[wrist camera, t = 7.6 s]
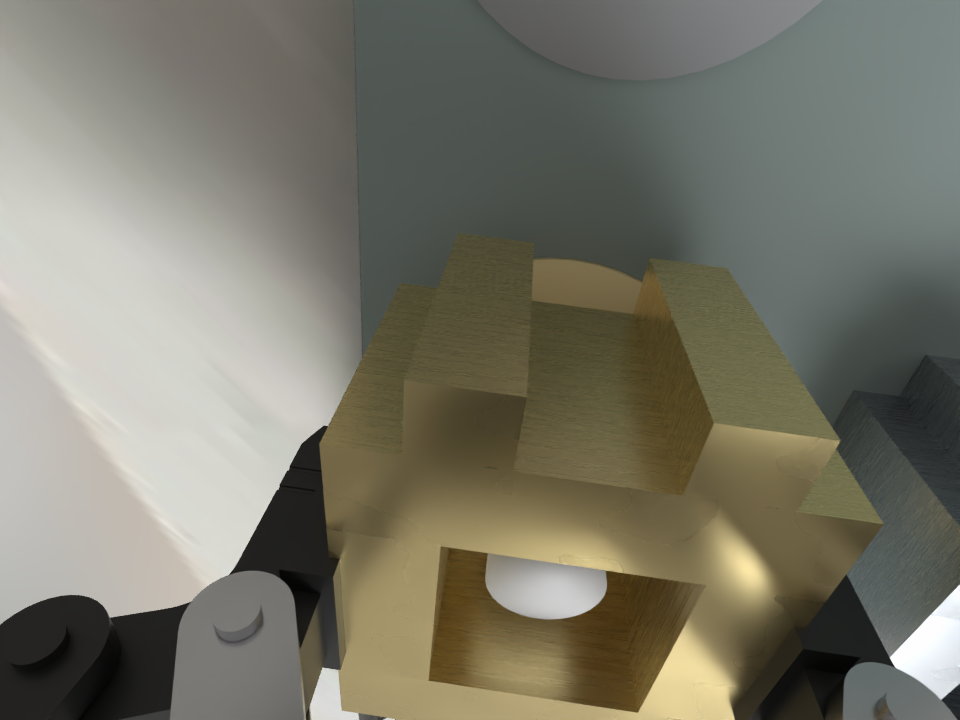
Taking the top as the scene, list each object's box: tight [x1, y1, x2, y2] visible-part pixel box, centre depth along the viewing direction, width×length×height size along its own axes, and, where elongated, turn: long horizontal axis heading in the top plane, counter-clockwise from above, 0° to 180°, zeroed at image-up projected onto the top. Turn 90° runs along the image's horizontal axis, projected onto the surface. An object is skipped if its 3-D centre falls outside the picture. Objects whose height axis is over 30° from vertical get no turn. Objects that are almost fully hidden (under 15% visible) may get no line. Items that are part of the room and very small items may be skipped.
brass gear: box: [319, 233, 884, 720], centre depth 9 cm, size 6×8×4 cm
